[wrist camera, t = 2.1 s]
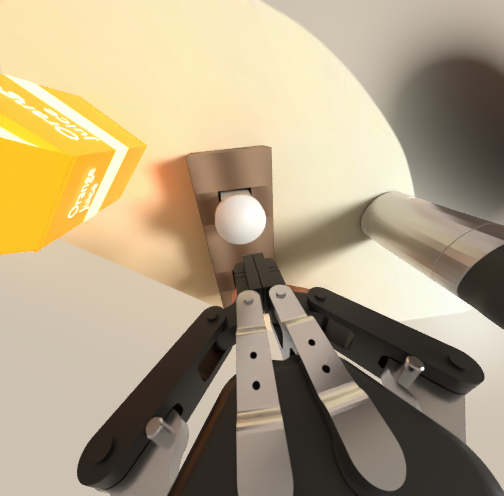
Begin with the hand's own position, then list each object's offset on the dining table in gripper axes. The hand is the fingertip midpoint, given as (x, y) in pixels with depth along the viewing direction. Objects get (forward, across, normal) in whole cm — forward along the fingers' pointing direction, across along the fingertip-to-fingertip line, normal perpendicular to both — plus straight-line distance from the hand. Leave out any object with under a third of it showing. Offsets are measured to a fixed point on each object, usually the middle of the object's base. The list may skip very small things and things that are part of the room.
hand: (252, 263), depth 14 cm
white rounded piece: (+14, 0, 0) cm, 14 cm away
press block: (+18, 0, +7) cm, 19 cm away
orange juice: (+19, +16, -7) cm, 26 cm away
